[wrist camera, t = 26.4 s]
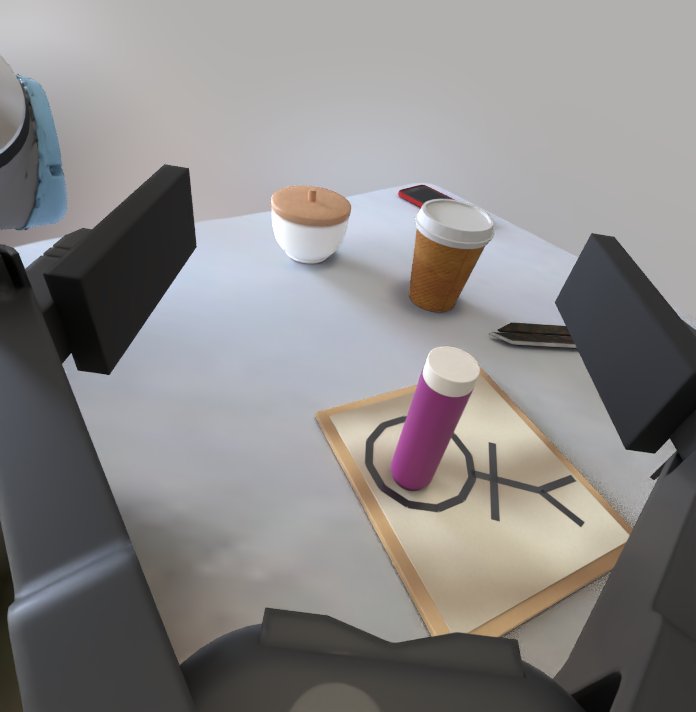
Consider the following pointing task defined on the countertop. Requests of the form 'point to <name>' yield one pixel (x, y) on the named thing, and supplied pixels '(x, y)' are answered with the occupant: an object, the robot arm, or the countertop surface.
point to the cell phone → (421, 194)
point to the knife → (533, 338)
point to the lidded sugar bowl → (309, 222)
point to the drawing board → (478, 512)
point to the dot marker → (433, 415)
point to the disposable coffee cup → (446, 251)
